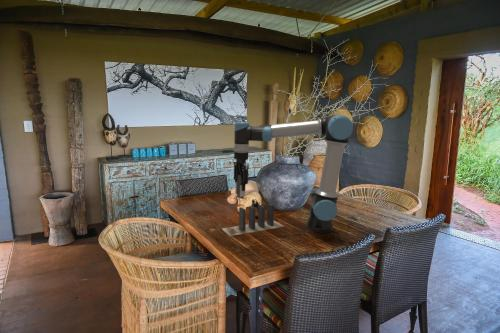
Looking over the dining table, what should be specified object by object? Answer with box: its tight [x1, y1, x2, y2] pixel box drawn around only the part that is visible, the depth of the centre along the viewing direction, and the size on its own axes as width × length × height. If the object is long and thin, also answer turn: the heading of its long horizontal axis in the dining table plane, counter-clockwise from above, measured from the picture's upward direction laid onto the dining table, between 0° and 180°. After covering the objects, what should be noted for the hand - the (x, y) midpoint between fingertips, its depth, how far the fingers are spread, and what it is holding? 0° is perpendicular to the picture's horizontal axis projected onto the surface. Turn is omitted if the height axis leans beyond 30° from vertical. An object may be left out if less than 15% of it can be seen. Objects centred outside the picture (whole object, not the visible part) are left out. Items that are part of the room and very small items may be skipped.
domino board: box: [221, 220, 285, 237], centre depth 182 cm, size 34×12×1 cm, turn 117°
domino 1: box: [236, 174, 245, 199], centre depth 172 cm, size 2×5×12 cm, turn 28°
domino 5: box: [266, 202, 275, 226], centre depth 186 cm, size 2×5×12 cm, turn 27°
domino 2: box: [238, 206, 247, 231], centre depth 178 cm, size 2×5×12 cm, turn 27°
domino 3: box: [248, 205, 257, 229], centre depth 181 cm, size 2×5×12 cm, turn 27°
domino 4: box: [257, 204, 266, 228], centre depth 184 cm, size 2×5×12 cm, turn 27°
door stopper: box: [246, 199, 260, 220], centre depth 199 cm, size 9×6×12 cm, turn 101°
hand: (240, 194), depth 172 cm, fingers closed on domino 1, 5 cm apart
